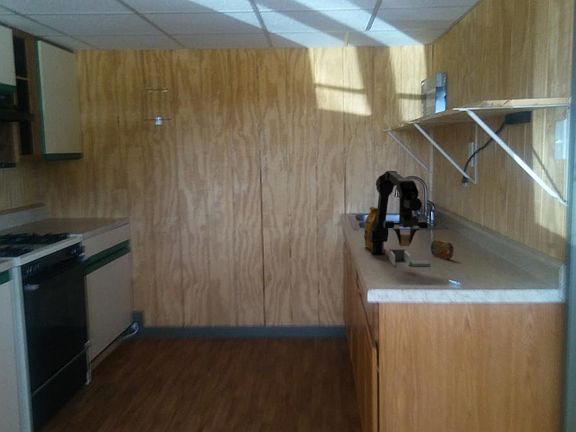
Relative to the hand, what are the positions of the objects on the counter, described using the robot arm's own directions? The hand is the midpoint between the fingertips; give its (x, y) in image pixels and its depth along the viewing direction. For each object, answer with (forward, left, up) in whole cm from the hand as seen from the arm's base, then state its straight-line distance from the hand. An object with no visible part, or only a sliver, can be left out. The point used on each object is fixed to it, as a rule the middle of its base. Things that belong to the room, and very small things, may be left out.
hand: (405, 243), depth 247 cm
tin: (-23, +22, -11) cm, 34 cm away
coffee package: (-47, -8, -11) cm, 49 cm away
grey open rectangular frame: (-12, 0, -11) cm, 16 cm away
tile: (-7, +8, -11) cm, 15 cm away
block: (-2, 0, -1) cm, 2 cm away
